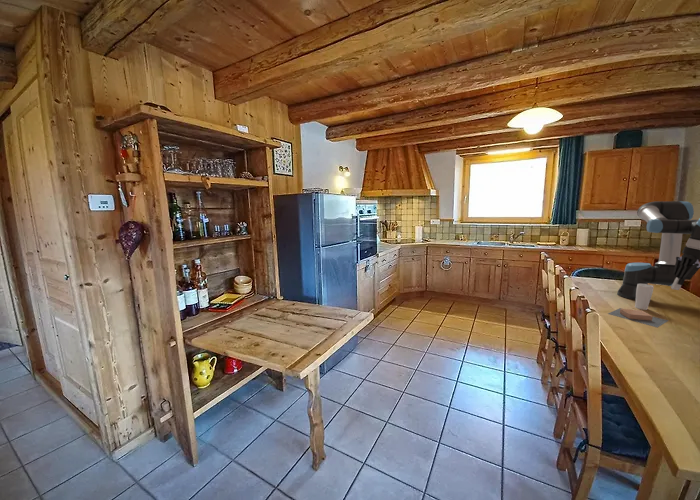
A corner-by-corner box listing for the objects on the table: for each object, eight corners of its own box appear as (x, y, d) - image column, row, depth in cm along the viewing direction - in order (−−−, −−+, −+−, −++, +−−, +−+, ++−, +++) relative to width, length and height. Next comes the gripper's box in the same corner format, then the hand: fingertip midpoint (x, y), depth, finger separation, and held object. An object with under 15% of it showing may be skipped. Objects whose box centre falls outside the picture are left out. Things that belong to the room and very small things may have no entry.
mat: (619, 309, 167) (620, 308, 167) (668, 321, 150) (668, 320, 150) (607, 314, 160) (607, 313, 159) (657, 328, 142) (657, 327, 142)
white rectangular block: (641, 307, 170) (646, 283, 168) (652, 311, 164) (657, 287, 161) (629, 306, 171) (634, 283, 168) (639, 311, 164) (644, 286, 162)
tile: (642, 310, 156) (620, 308, 159) (652, 316, 149) (629, 314, 152) (641, 315, 157) (619, 313, 160) (651, 321, 149) (628, 318, 152)
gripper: (717, 252, 136) (693, 295, 143) (693, 246, 148) (673, 285, 155) (698, 250, 138) (676, 292, 145) (676, 243, 150) (657, 283, 157)
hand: (674, 289), depth 150 cm, fingers closed
